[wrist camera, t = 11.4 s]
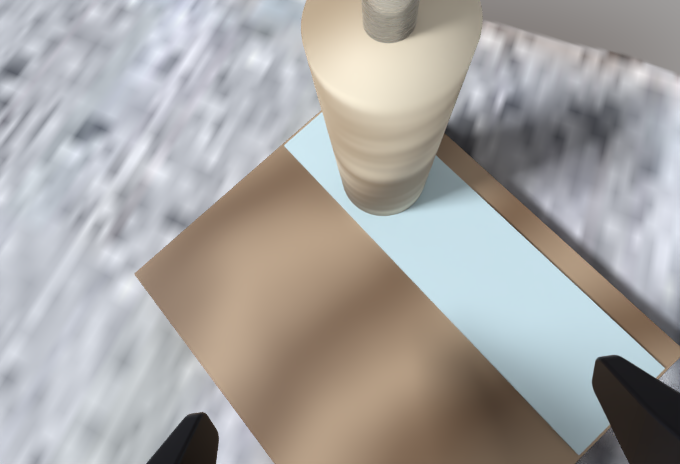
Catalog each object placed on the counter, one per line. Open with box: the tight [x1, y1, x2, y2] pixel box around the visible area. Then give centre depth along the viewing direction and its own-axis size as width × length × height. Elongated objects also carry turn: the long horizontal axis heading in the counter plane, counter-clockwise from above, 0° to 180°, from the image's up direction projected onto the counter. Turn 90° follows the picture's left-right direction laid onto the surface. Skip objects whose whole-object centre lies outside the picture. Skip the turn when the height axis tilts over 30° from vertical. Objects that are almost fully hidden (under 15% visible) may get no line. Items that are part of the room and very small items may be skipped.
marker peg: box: [301, 0, 483, 216], centre depth 12 cm, size 4×4×12 cm
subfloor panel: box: [135, 110, 680, 464], centre depth 18 cm, size 19×16×2 cm
